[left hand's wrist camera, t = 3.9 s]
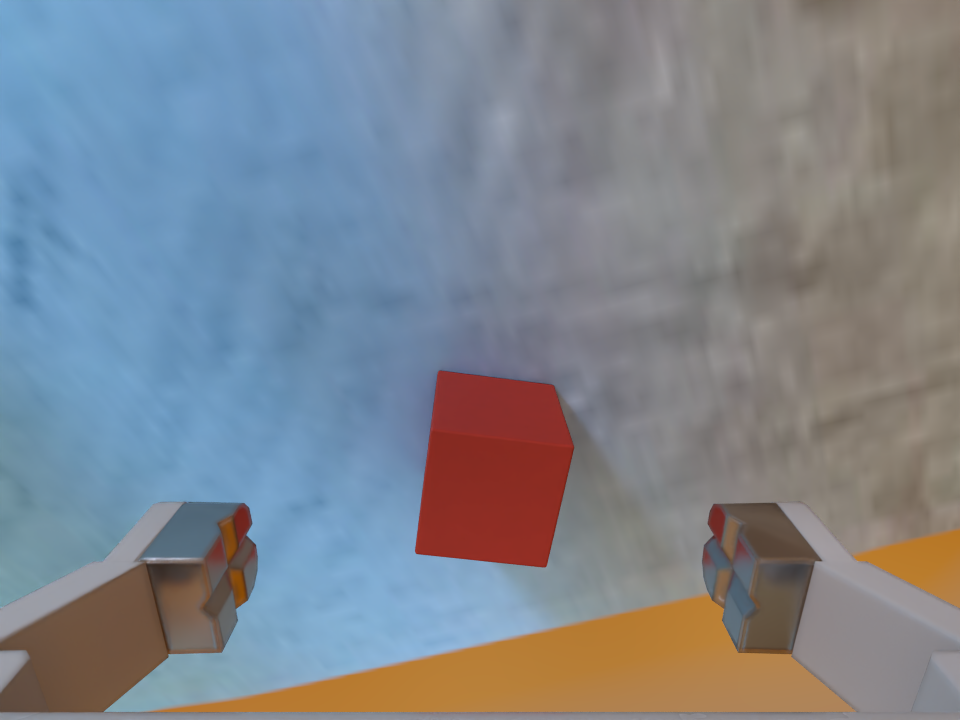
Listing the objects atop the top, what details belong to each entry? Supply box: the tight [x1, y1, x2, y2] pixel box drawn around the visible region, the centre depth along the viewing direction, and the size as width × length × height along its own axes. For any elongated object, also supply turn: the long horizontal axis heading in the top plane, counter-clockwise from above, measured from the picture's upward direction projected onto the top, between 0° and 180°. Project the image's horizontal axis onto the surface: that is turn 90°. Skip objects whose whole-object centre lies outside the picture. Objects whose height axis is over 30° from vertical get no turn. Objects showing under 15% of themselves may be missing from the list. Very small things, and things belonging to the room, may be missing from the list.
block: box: [415, 371, 574, 567], centre depth 21 cm, size 5×4×5 cm
